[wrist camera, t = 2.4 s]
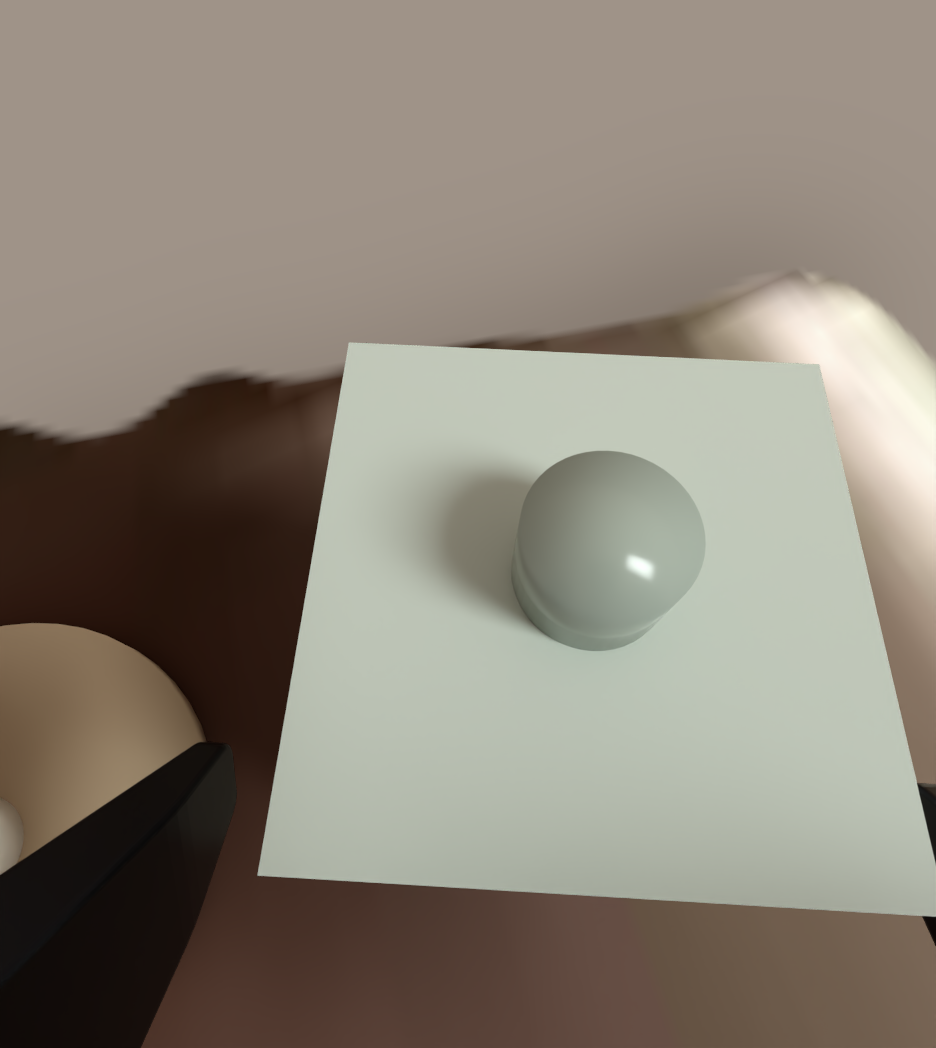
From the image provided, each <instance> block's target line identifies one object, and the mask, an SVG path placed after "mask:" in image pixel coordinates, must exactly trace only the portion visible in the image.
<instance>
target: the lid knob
mask: <svg viewBox="0 0 936 1048" xmlns="http://www.w3.org/2000/svg"><path fill="white" fill-rule="evenodd" d="M23 837H24V833H23V825H22V821H21V818H20V815H19V814H18V812H17V810H16V809H15V808H14V807H13V806H12V805H11V804H10V803H9V802H7V801H6V800H4V799H2V798H0V874H2V873H3V872H5V871H6V870H8V869H9V868H11V867H12V866H14V865H15V864H17V862H18V859H19V857H20V854H21V850H22V846H23Z"/></svg>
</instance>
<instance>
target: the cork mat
mask: <svg viewBox="0 0 936 1048" xmlns="http://www.w3.org/2000/svg"><path fill="white" fill-rule="evenodd" d="M198 742H207V740H206V737H205V734H204V731H203V728H202V725H201V723H200V721H199V720H198V718H197V716H196V714H195V712H194V710H193V708H192V706H191V704H190V702H189V701H188V699H187V698H186V697H185V695H184V694H183V693H182V691H181V690H180V688H179V687H178V686H177V684H176V683H175V682H174V681H173V680H172V679H171V678H170V677H169V676H168V675H167V674H166V673H165V672H164V671H163V670H162V669H161V668H160V667H159V666H158V665H157V664H155V663H154V662H152V661H151V660H150V659H148V658H147V657H145V656H144V655H143V654H141V653H140V652H138V651H136V650H135V649H133V648H131V647H129V646H127V645H125V644H123V643H121V642H119V641H117V640H115V639H113V638H111V637H109V636H106V635H103V634H100V633H97V632H94V631H91V630H88V629H85V628H80V627H74V626H68V625H62V624H47V623H27V624H16V625H5V626H0V798H2V799H4V800H6V801H7V802H9V803H10V804H11V805H12V806H13V807H14V808H15V809H16V810H17V812H18V814H19V815H20V818H21V821H22V825H23V833H24V837H23V846H22V850H21V854H20V857H19V859H18V862H20V861H21V860H23V859H24V858H26V857H27V856H29V855H30V854H32V853H33V852H35V851H36V850H38V849H39V848H41V847H42V846H44V845H45V844H47V843H48V842H50V841H51V840H53V839H54V838H56V837H57V836H59V835H60V834H62V833H63V832H65V831H66V830H67V829H69V828H70V827H72V826H73V825H75V824H76V823H78V822H79V821H81V820H82V819H84V818H85V817H87V816H88V815H90V814H91V813H93V812H94V811H96V810H97V809H99V808H100V807H102V806H103V805H105V804H106V803H108V802H109V801H111V800H112V799H114V798H115V797H117V796H118V795H120V794H121V793H123V792H124V791H126V790H127V789H129V788H130V787H132V786H133V785H135V784H136V783H137V782H139V781H140V780H142V779H143V778H145V777H146V776H148V775H149V774H151V773H152V772H154V771H155V770H157V769H158V768H160V767H161V766H163V765H164V764H166V763H167V762H169V761H170V760H172V759H173V758H175V757H176V756H178V755H179V754H181V753H182V752H184V751H185V750H187V749H188V748H190V747H191V746H193V745H194V744H196V743H198ZM18 862H17V863H18Z"/></svg>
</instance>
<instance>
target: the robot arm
mask: <svg viewBox="0 0 936 1048" xmlns="http://www.w3.org/2000/svg"><path fill="white" fill-rule="evenodd" d="M917 786H918V790H919V795H920V799H921V803H922V807H923V812H924V816H925V820H926V825H927V829H928V833H929V837H930V842H931V846H932V850H933V855H934V859H935V863H936V784H926V783H917ZM236 796H237V790H236V780H235V771H234V762H233V753H232V749H231V747H230V746H229V745H228V744H227V743H219V742H198V743H196V744H194V745H193V746H191V747H190V748H188V749H187V750H185V751H184V752H182V753H181V754H179V755H178V756H176V757H175V758H173V759H172V760H170V761H169V762H167V763H166V764H164V765H163V766H161V767H160V768H158V769H157V770H155V771H154V772H152V773H151V774H149V775H148V776H146V777H145V778H143V779H142V780H140V781H139V782H137V783H136V784H135V785H133V786H132V787H130V788H129V789H127V790H126V791H124V792H123V793H121V794H120V795H118V796H117V797H115V798H114V799H112V800H111V801H109V802H108V803H106V804H105V805H103V806H102V807H100V808H99V809H97V810H96V811H94V812H93V813H91V814H90V815H88V816H87V817H85V818H84V819H82V820H81V821H79V822H78V823H76V824H75V825H73V826H72V827H70V828H69V829H67V830H66V831H65V832H63V833H62V834H60V835H59V836H57V837H56V838H54V839H53V840H51V841H50V842H48V843H47V844H45V845H44V846H42V847H41V848H39V849H38V850H36V851H35V852H33V853H32V854H30V855H29V856H27V857H26V858H24V859H23V860H21V861H20V862H18V863H17V864H15V865H14V866H12V867H11V868H9V869H8V870H6V871H5V872H3V873H2V874H0V1048H141V1046H142V1044H143V1042H144V1040H145V1037H146V1035H147V1033H148V1031H149V1028H150V1026H151V1024H152V1022H153V1019H154V1017H155V1015H156V1013H157V1011H158V1008H159V1006H160V1004H161V1002H162V999H163V997H164V995H165V993H166V991H167V988H168V986H169V984H170V982H171V979H172V977H173V975H174V973H175V970H176V968H177V966H178V964H179V962H180V959H181V957H182V955H183V953H184V950H185V948H186V946H187V943H188V941H189V939H190V936H191V934H192V932H193V929H194V927H195V924H196V921H197V919H198V916H199V913H200V910H201V907H202V904H203V901H204V898H205V895H206V892H207V889H208V886H209V883H210V880H211V878H212V875H213V872H214V869H215V866H216V863H217V860H218V857H219V854H220V851H221V848H222V845H223V842H224V839H225V836H226V833H227V830H228V827H229V824H230V821H231V818H232V815H233V812H234V808H235V804H236ZM922 917H923V919H924V921H925V924H926V926H927V928H928V930H929V932H930V935H931V937H932V939H933V941H934V943H935V946H936V917H932V916H922Z"/></svg>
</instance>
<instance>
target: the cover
mask: <svg viewBox="0 0 936 1048" xmlns="http://www.w3.org/2000/svg"><path fill="white" fill-rule="evenodd" d="M257 876H273V877H289V878H306V879H322V880H339V881H355V882H372V883H388V884H405V885H421V886H438V887H454V888H471V889H487V890H504V891H520V892H537V893H553V894H570V895H586V896H603V897H619V898H636V899H652V900H669V901H685V902H702V903H718V904H735V905H751V906H768V907H784V908H801V909H817V910H834V911H850V912H866V913H883V914H899V915H916V916H932V917H936V863H935V859H934V855H933V850H932V846H931V842H930V837H929V833H928V829H927V825H926V820H925V816H924V812H923V807H922V803H921V799H920V795H919V790H918V786H917V782H916V777H915V773H914V769H913V765H912V760H911V756H910V752H909V747H908V743H907V739H906V735H905V730H904V726H903V722H902V717H901V713H900V709H899V705H898V700H897V696H896V692H895V687H894V683H893V679H892V675H891V670H890V666H889V662H888V658H887V653H886V649H885V645H884V640H883V636H882V632H881V628H880V623H879V619H878V615H877V610H876V606H875V602H874V598H873V593H872V589H871V585H870V580H869V576H868V572H867V568H866V563H865V559H864V555H863V550H862V546H861V542H860V538H859V533H858V529H857V525H856V520H855V516H854V512H853V508H852V503H851V499H850V495H849V490H848V486H847V482H846V478H845V473H844V469H843V465H842V460H841V456H840V452H839V448H838V443H837V439H836V435H835V430H834V426H833V422H832V418H831V413H830V409H829V405H828V400H827V396H826V392H825V388H824V383H823V379H822V375H821V370H820V366H819V364H799V363H778V362H756V361H735V360H713V359H692V358H670V357H649V356H628V355H606V354H585V353H563V352H542V351H520V350H499V349H477V348H456V347H434V346H413V345H391V344H369V343H349V346H348V351H347V357H346V363H345V369H344V375H343V381H342V386H341V392H340V398H339V404H338V410H337V416H336V421H335V427H334V433H333V439H332V445H331V450H330V456H329V462H328V468H327V474H326V480H325V485H324V491H323V497H322V503H321V509H320V514H319V520H318V526H317V532H316V538H315V544H314V549H313V555H312V561H311V567H310V573H309V578H308V584H307V590H306V596H305V602H304V608H303V613H302V619H301V625H300V631H299V637H298V643H297V648H296V654H295V660H294V666H293V672H292V677H291V683H290V689H289V695H288V701H287V707H286V712H285V718H284V724H283V730H282V736H281V741H280V747H279V753H278V759H277V765H276V771H275V776H274V782H273V788H272V794H271V800H270V806H269V811H268V817H267V823H266V829H265V835H264V840H263V846H262V852H261V858H260V864H259V870H258V875H257Z"/></svg>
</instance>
